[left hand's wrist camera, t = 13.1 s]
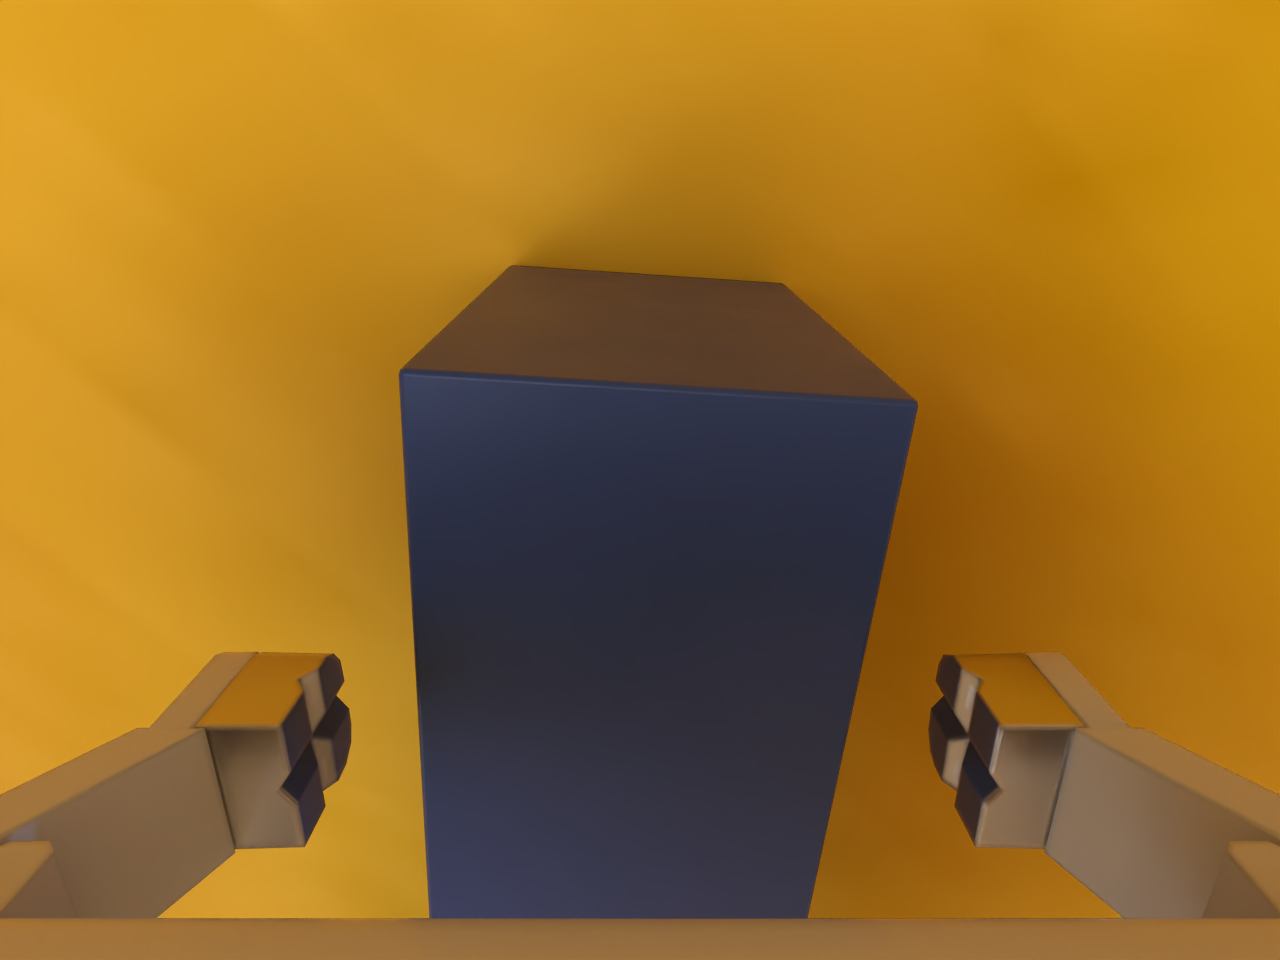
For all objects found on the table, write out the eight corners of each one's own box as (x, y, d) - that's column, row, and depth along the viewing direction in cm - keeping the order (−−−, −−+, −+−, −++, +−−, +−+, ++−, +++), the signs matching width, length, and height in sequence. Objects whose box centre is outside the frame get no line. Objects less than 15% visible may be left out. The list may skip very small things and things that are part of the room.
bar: (508, 264, 17) (396, 369, 9) (784, 283, 17) (921, 402, 9) (508, 1059, 27) (457, 1434, 19) (677, 1064, 27) (696, 1438, 19)
